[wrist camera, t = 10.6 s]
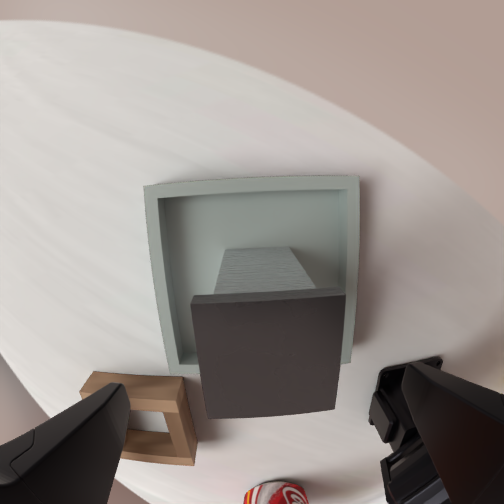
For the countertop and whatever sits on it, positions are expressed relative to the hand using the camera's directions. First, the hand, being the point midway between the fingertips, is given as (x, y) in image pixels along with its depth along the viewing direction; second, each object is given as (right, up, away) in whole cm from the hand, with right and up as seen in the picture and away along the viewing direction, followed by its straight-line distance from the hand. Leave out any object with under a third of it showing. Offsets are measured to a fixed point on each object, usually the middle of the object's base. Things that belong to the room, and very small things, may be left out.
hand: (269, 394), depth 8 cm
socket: (-10, -10, +14) cm, 20 cm away
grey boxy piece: (0, +3, +11) cm, 12 cm away
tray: (0, +3, +12) cm, 12 cm away
